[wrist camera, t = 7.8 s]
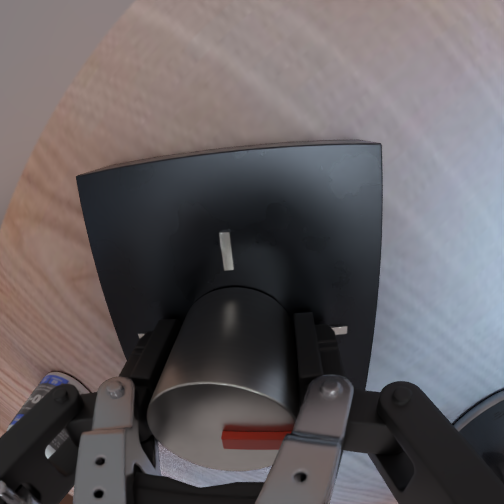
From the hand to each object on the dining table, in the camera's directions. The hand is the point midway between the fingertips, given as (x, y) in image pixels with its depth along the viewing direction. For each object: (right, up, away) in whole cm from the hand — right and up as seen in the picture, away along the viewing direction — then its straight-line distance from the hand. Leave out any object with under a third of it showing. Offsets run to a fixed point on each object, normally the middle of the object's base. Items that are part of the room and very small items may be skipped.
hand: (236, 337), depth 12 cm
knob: (0, 0, 0) cm, 0 cm away
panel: (0, +1, +3) cm, 3 cm away
